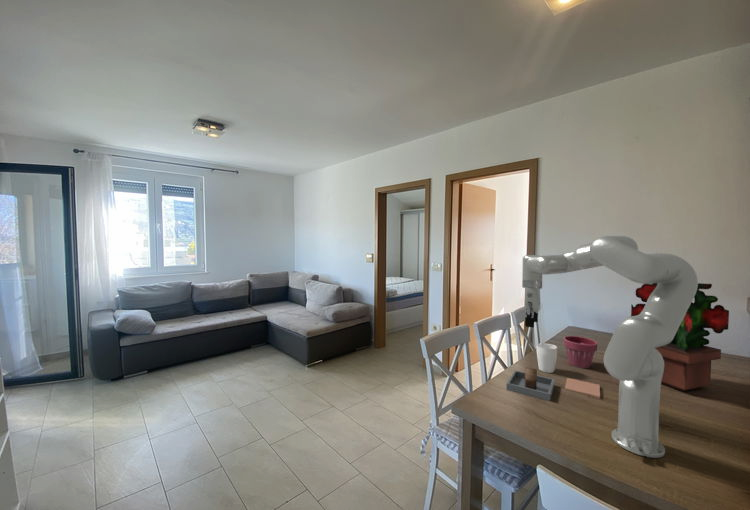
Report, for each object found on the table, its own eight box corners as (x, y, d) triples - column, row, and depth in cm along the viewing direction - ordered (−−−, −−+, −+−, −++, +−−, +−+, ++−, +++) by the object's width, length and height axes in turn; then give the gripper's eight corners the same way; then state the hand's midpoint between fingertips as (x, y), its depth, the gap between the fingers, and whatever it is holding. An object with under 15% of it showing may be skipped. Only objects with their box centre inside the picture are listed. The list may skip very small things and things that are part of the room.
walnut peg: (535, 390, 127) (535, 372, 127) (524, 388, 130) (524, 369, 129) (537, 386, 131) (537, 368, 130) (526, 384, 133) (526, 366, 133)
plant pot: (603, 367, 152) (604, 342, 151) (584, 372, 146) (585, 346, 146) (575, 357, 165) (575, 334, 164) (557, 361, 160) (557, 337, 159)
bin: (549, 403, 119) (550, 394, 119) (506, 391, 128) (506, 383, 128) (554, 387, 132) (554, 379, 132) (514, 377, 141) (514, 370, 141)
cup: (560, 374, 144) (560, 349, 144) (539, 373, 146) (539, 348, 145) (553, 366, 153) (553, 343, 152) (533, 365, 155) (534, 342, 154)
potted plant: (689, 399, 121) (693, 287, 119) (629, 376, 142) (632, 280, 140) (725, 391, 127) (730, 284, 125) (662, 370, 148) (666, 278, 146)
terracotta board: (600, 398, 122) (600, 396, 122) (564, 390, 129) (564, 388, 129) (599, 387, 132) (599, 384, 131) (566, 379, 139) (567, 377, 138)
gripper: (539, 287, 119) (538, 330, 120) (544, 282, 133) (544, 321, 134) (518, 286, 123) (517, 327, 124) (526, 281, 137) (525, 318, 138)
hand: (531, 324), depth 129 cm, fingers open, 9 cm apart
